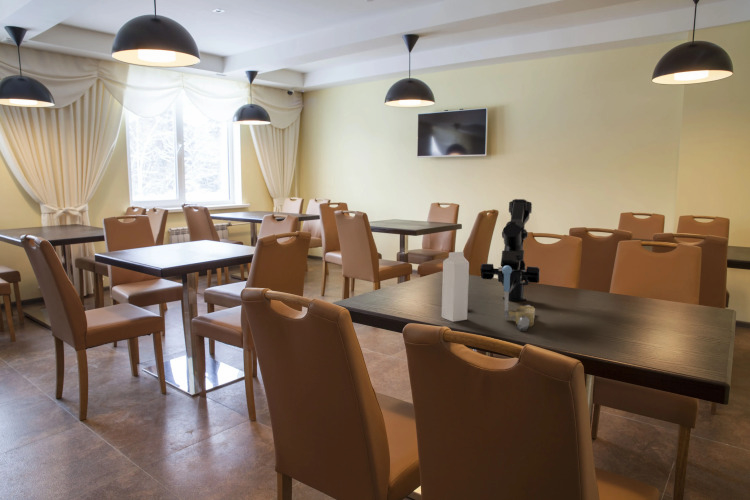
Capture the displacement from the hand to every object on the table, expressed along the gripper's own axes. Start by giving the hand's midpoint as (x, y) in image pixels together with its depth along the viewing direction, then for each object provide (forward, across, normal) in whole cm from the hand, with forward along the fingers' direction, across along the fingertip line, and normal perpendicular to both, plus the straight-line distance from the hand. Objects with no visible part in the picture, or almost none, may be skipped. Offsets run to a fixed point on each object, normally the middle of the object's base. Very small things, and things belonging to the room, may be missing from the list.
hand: (506, 294), depth 161 cm
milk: (+9, -16, +4) cm, 19 cm away
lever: (+4, 0, +6) cm, 8 cm away
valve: (+6, +5, +7) cm, 10 cm away
